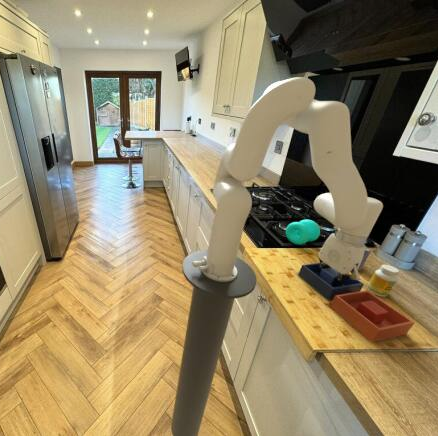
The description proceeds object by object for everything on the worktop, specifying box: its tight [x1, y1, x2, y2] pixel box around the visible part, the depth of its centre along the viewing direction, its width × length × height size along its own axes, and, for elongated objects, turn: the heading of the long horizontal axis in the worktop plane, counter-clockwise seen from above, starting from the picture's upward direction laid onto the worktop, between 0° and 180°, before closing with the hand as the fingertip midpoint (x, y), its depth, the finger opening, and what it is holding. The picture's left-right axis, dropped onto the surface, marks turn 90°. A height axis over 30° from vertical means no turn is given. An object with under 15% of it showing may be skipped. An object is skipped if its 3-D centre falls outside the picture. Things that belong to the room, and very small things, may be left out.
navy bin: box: [298, 262, 365, 301], centre depth 80 cm, size 12×12×4 cm
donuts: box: [285, 219, 321, 246], centre depth 104 cm, size 10×10×10 cm
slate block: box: [319, 268, 338, 285], centre depth 79 cm, size 4×4×4 cm
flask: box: [358, 240, 372, 272], centre depth 90 cm, size 9×3×11 cm, turn 164°
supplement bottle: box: [366, 264, 400, 297], centre depth 76 cm, size 5×5×10 cm
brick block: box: [356, 300, 388, 324], centre depth 66 cm, size 4×4×4 cm
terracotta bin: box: [329, 289, 416, 343], centre depth 67 cm, size 12×12×4 cm
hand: (328, 281), depth 80 cm, fingers closed on slate block, 4 cm apart
